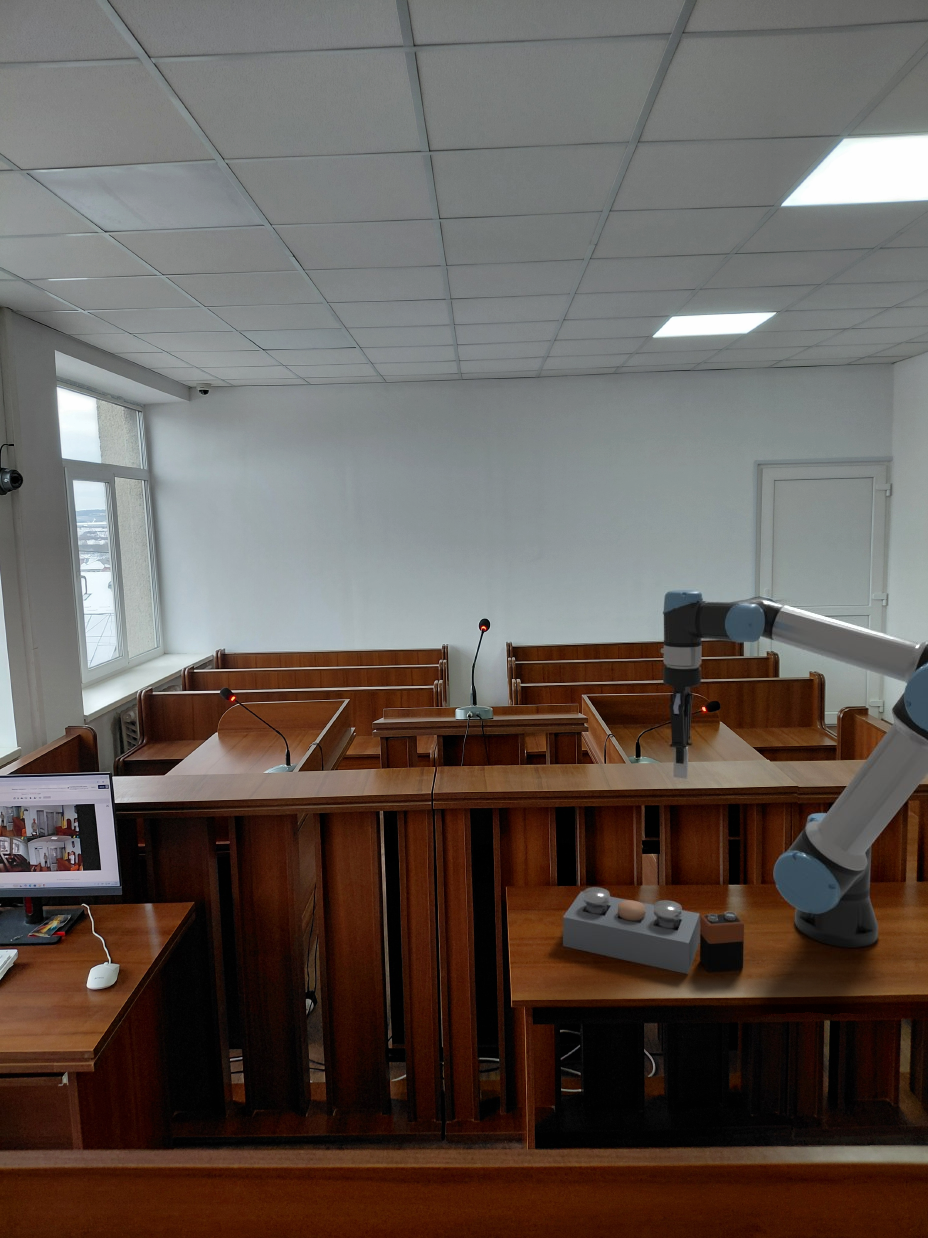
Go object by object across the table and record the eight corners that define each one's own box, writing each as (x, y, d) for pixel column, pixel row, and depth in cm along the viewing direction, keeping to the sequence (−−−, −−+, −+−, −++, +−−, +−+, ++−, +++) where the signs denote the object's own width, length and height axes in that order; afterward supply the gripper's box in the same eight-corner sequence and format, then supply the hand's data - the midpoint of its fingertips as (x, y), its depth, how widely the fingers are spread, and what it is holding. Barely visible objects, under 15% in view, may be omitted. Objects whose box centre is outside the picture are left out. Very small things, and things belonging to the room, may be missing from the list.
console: (699, 942, 152) (699, 913, 152) (688, 974, 142) (688, 943, 141) (581, 918, 163) (581, 891, 162) (563, 946, 152) (562, 917, 152)
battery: (744, 970, 143) (745, 918, 142) (708, 973, 142) (709, 921, 141) (733, 957, 147) (734, 907, 146) (698, 960, 146) (699, 910, 145)
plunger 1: (612, 921, 156) (612, 890, 156) (605, 933, 152) (605, 901, 151) (587, 916, 159) (587, 885, 158) (580, 927, 154) (579, 896, 153)
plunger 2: (683, 935, 150) (684, 903, 149) (678, 948, 146) (679, 915, 145) (656, 930, 152) (657, 898, 152) (650, 942, 148) (651, 910, 147)
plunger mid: (647, 934, 153) (647, 903, 153) (641, 947, 149) (641, 915, 148) (621, 929, 156) (621, 898, 155) (614, 941, 151) (614, 910, 150)
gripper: (669, 659, 167) (668, 766, 170) (656, 669, 155) (655, 784, 158) (705, 661, 164) (704, 770, 166) (695, 672, 152) (693, 788, 155)
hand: (680, 776), depth 162 cm, fingers closed
